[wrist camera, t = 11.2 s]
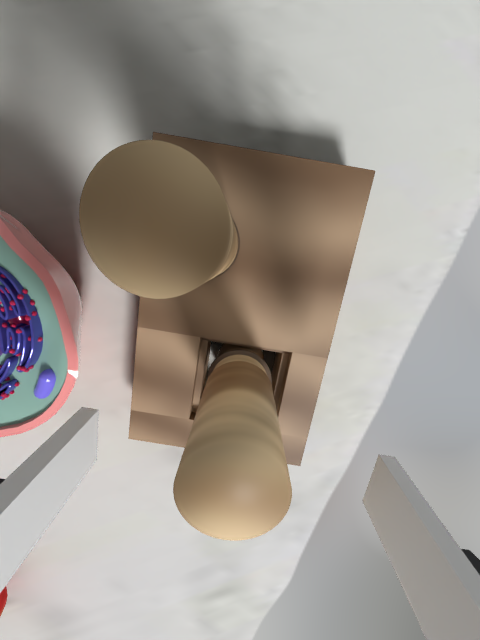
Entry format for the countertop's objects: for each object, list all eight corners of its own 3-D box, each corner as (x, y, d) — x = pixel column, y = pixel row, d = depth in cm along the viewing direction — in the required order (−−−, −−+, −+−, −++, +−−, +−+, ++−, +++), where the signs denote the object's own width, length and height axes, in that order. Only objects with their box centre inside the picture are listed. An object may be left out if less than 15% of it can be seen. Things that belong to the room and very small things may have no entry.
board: (170, 156, 20) (18, -49, 7) (351, 187, 21) (555, 49, 7) (146, 411, 25) (31, 588, 12) (291, 434, 26) (343, 635, 12)
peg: (217, 330, 23) (177, 430, 10) (271, 338, 24) (305, 450, 10) (210, 380, 25) (165, 533, 11) (262, 388, 25) (281, 550, 11)
